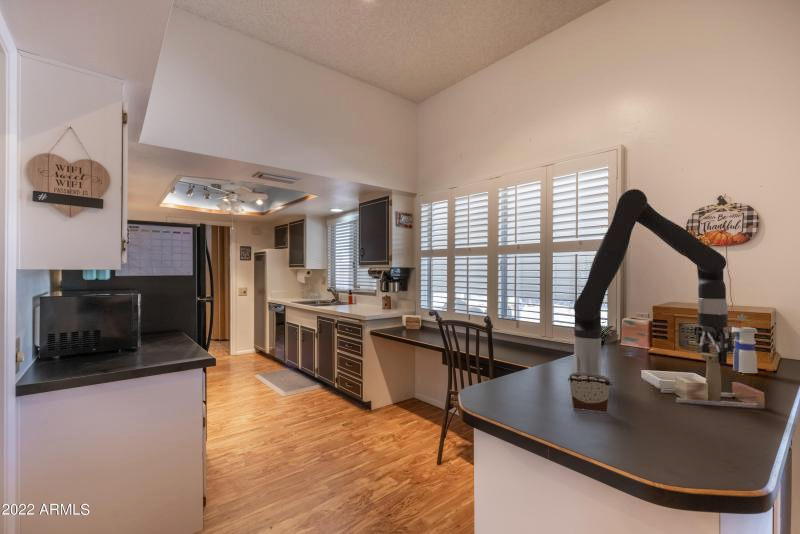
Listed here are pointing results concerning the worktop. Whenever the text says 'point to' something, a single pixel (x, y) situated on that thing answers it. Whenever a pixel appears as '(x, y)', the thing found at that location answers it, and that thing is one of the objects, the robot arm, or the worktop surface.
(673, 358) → the worktop surface
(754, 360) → the water bottle
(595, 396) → the food container
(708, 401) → the track
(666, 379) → the tray
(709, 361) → the handle
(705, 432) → the worktop surface
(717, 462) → the worktop surface
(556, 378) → the worktop surface
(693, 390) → the block
